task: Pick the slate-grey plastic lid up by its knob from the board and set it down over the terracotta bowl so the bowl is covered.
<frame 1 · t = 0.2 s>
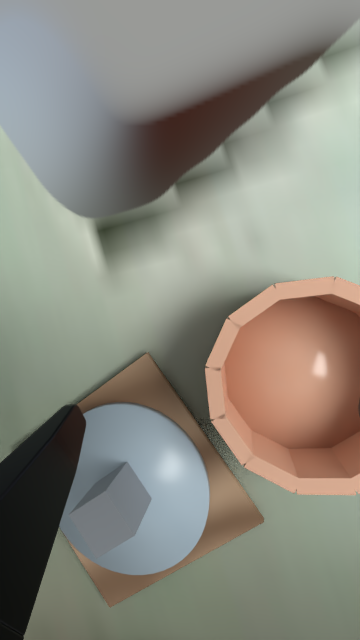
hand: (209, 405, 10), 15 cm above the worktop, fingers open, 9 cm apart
board: (129, 480, 26), on the worktop
lid: (127, 483, 25), resting on board
bowl: (298, 371, 23), on the worktop
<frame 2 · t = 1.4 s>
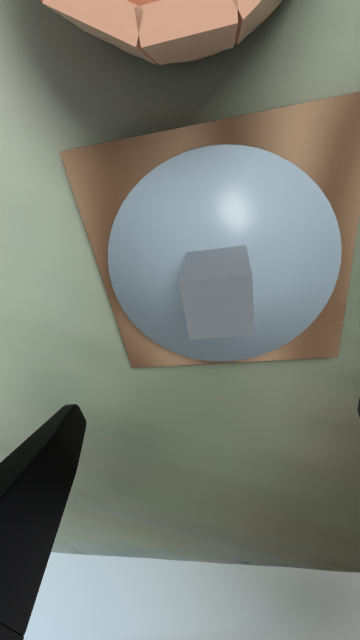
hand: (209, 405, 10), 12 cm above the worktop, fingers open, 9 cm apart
board: (218, 266, 20), on the worktop
lid: (218, 269, 19), resting on board
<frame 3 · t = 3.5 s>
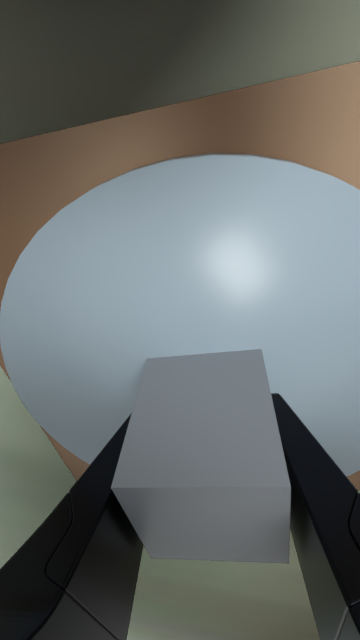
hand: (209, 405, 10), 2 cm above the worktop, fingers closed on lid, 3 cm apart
board: (209, 363, 11), on the worktop
lid: (209, 373, 11), resting on board, touching gripper
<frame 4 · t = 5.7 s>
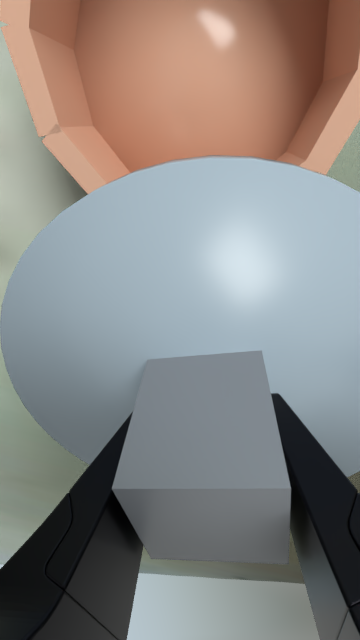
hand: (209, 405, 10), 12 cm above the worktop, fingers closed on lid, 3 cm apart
lid: (210, 374, 11), point 11 cm above the worktop, touching gripper
bowl: (198, 69, 14), on the worktop
when the fingers open (8 cm above the worktop, at t = 7.9 s): lid drops 1 cm, resting on bowl.
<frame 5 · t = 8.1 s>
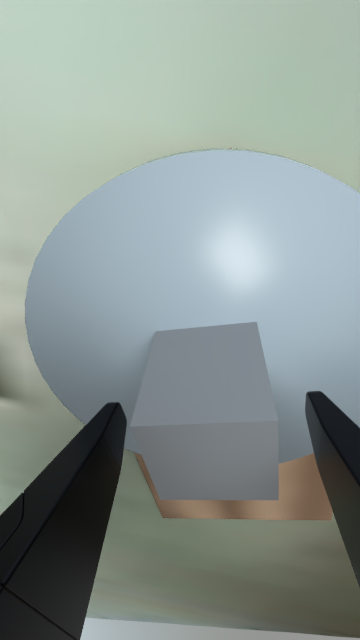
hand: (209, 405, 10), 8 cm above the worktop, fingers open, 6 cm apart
board: (235, 467, 25), on the worktop
lid: (211, 347, 12), point 5 cm above the worktop, touching bowl
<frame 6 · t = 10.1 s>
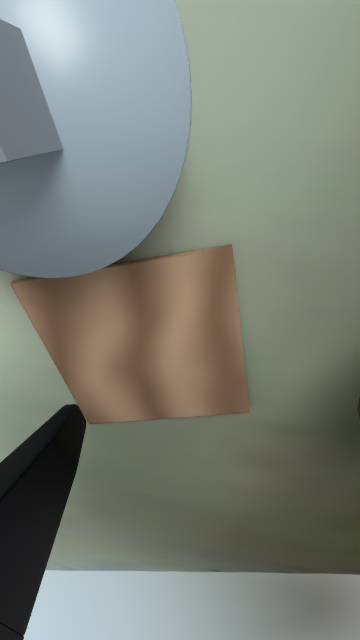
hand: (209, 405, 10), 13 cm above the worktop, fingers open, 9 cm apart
board: (145, 351, 25), on the worktop
lid: (15, 106, 12), point 5 cm above the worktop, touching bowl
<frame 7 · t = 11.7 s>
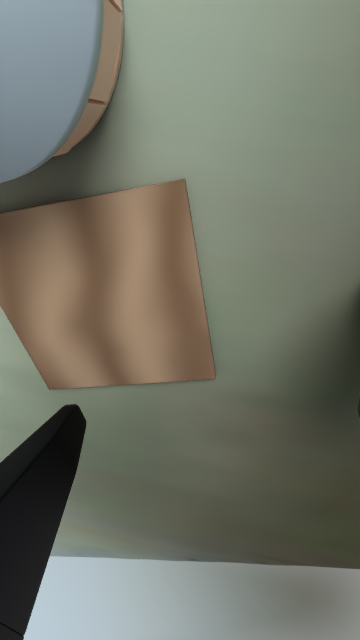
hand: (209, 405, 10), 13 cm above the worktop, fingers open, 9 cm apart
board: (102, 307, 24), on the worktop
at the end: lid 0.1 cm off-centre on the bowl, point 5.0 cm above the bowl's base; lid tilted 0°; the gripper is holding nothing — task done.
